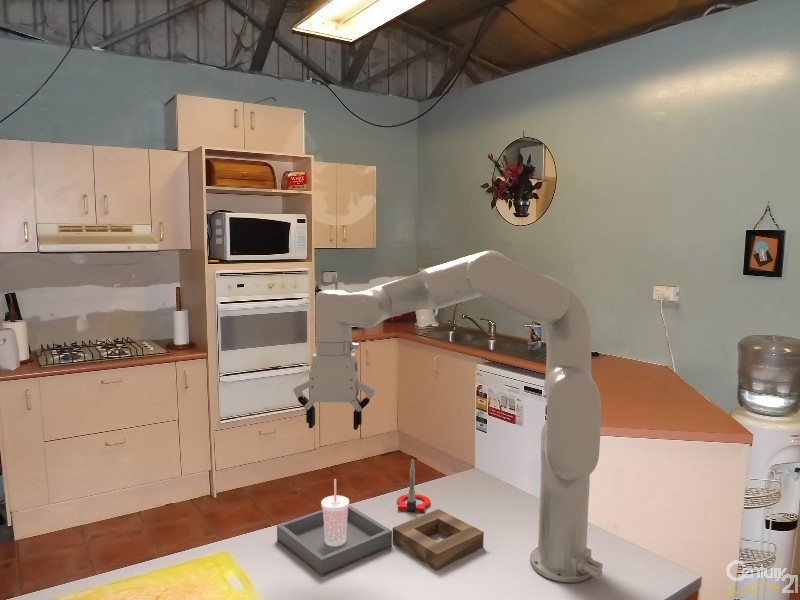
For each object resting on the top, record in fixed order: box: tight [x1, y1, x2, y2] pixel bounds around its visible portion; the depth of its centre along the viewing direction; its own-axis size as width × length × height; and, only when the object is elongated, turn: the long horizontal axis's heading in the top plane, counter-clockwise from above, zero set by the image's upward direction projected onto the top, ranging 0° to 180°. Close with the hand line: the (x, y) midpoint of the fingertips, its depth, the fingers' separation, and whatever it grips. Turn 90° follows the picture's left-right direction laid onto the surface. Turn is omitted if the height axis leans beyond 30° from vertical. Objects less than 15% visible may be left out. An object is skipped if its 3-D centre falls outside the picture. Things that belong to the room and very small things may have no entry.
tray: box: [276, 504, 393, 578], centre depth 127 cm, size 18×18×4 cm
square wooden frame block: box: [392, 508, 484, 572], centre depth 126 cm, size 14×14×4 cm
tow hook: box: [396, 459, 431, 513], centre depth 146 cm, size 8×13×9 cm
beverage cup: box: [320, 478, 350, 546], centre depth 126 cm, size 6×6×14 cm
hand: (334, 427), depth 124 cm, fingers open, 9 cm apart
